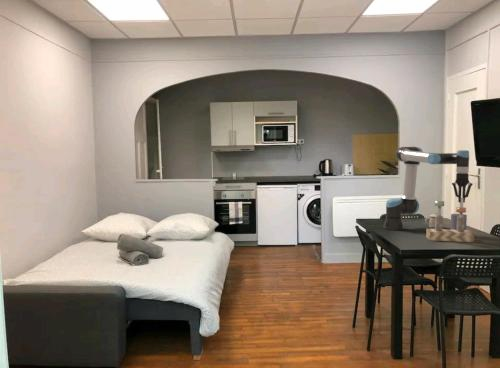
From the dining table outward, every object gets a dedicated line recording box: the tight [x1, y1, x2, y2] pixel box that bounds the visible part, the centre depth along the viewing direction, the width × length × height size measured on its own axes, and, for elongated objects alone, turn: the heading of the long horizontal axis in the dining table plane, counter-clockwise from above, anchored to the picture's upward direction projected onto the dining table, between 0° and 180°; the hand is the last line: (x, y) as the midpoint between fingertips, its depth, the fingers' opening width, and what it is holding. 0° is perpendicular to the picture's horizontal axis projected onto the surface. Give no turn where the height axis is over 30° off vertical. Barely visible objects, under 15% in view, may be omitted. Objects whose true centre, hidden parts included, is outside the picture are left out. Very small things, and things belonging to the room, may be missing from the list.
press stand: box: [425, 215, 475, 243], centre depth 299 cm, size 28×12×16 cm, turn 78°
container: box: [450, 213, 468, 230], centre depth 314 cm, size 10×10×15 cm
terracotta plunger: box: [455, 206, 467, 217], centre depth 297 cm, size 6×6×14 cm
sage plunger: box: [434, 200, 445, 217], centre depth 300 cm, size 6×6×14 cm
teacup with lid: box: [424, 212, 438, 228], centre depth 348 cm, size 12×9×12 cm
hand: (461, 207), depth 296 cm, fingers closed
